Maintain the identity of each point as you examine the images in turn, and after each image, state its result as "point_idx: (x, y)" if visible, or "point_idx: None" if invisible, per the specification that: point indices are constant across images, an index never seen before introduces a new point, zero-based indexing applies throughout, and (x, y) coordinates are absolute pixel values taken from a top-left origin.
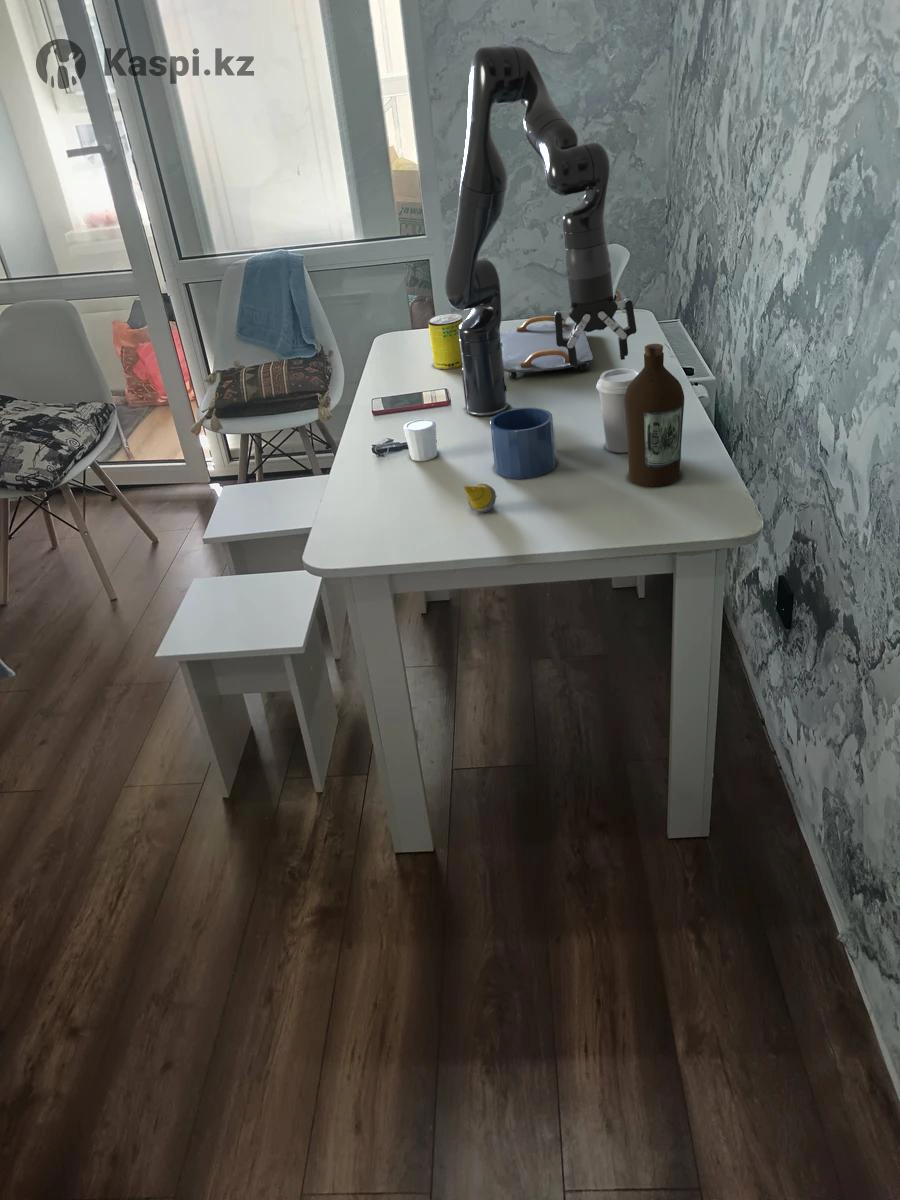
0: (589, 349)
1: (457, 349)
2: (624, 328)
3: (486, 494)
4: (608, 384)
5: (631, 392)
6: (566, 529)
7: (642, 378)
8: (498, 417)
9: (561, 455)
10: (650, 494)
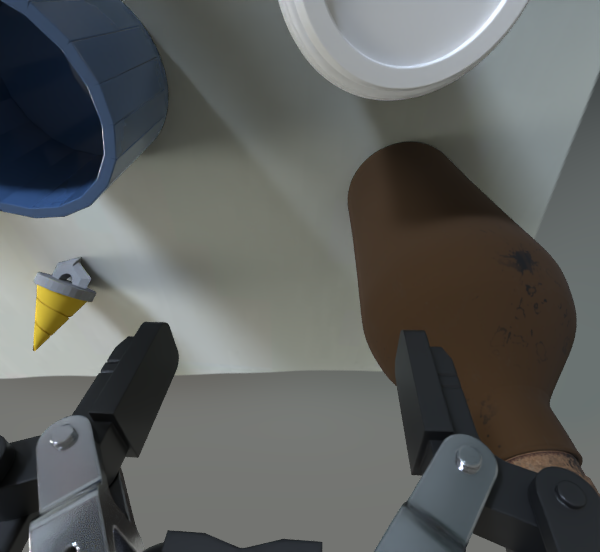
0: None
1: None
2: (495, 511)
3: (76, 310)
4: (334, 63)
5: (387, 375)
6: (235, 338)
7: None
8: None
9: (172, 12)
10: None
